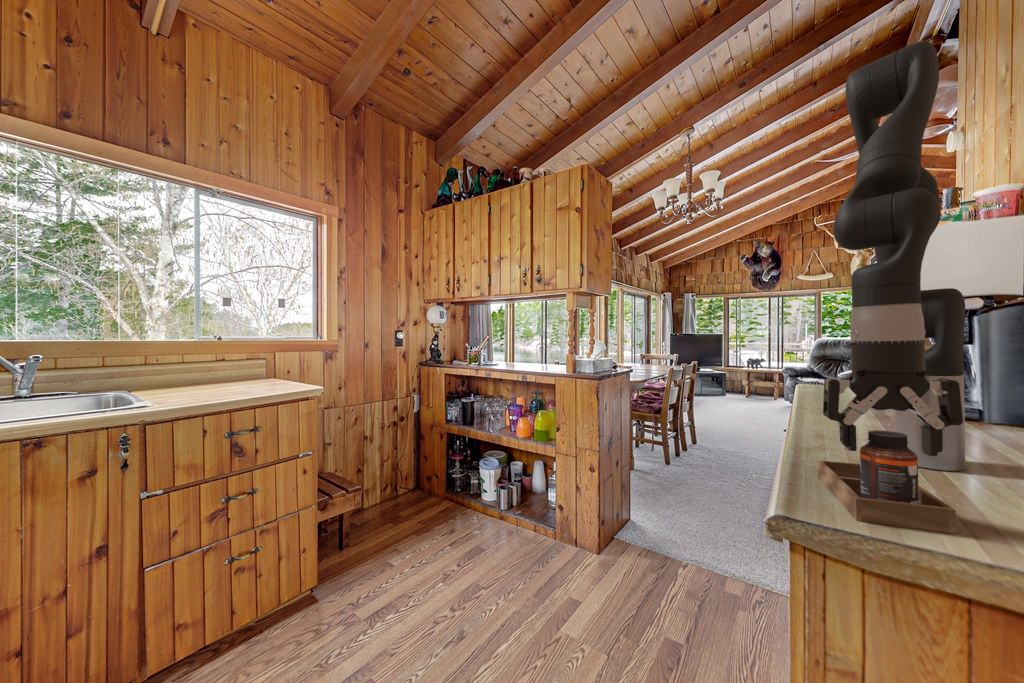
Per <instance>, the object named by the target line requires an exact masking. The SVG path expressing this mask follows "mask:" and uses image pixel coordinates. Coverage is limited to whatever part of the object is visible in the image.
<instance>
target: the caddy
mask: <svg viewBox="0 0 1024 683" xmlns="http://www.w3.org/2000/svg"><path fill="white" fill-rule="evenodd" d="M817 478H818V479H819V480H820V481H821V482H822V483H823V484H824V485H825V487H826V488H827V489H828V490H829V491H830V493H832V494H833V496H834V497H835V498H836V499H837V500H838V501H839V502H840V503H841V505H842V506H843V508H845V509H846V511H848V513H849V514H850V515H851V516H852V518H854V519H855V521H858V522H865V523H871V524H881V525H887V526H895V527H902V528H907V529H908V528H911V529H915V530H926V531H934V532H937V533H939V532H940V533H947V534H954V535H956V534H957V523H956V522H957V520H956V519H957V518H956V515H957V514H956V513H957V512H956V509H955V508H953V507H951V505H948V504H947V503H945V502H944V501H943V500H941V499H940V498H938V497H937V496H935V495H933V494H932V493H931V492H929V491H927V490H926V489H924V488H923V487H922V486H920V485H919V484H918V492H919V504H911V503H903V502H894V501H885V500H877V499H868V498H861V480H860V463H854V462H842V461H831V460H821V459H820V460H819V459H817Z"/></svg>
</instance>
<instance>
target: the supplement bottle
mask: <svg viewBox="0 0 1024 683" xmlns="http://www.w3.org/2000/svg"><path fill="white" fill-rule="evenodd" d="M867 433H868V437H867V440H868V441H867V443H865V444H863V445H862V446H860V448H859V449H860V450H859V464H860V480H861V498H868V499H877V500H885V501H894V502H903V503H911V504H919V492H918V485H919V467H918V458H917V455H916V454H915V453H914V452H913V451H912V450H909V449H908V446H907V444H908V442H907V435H905V434H903V433H899V432H895V431H892V430H891V431H890V430H880V429H877V430H876V429H875V430H874V429H873V430H869V431H868V432H867Z"/></svg>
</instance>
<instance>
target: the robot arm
mask: <svg viewBox="0 0 1024 683" xmlns="http://www.w3.org/2000/svg"><path fill="white" fill-rule="evenodd" d="M939 82H940V63H939V58H938V53H937V51H936V48H935V46H934V45H933V44H932V43H931V41H927V40H922V41H918V42H917V41H916V42H914V43H911V44H908V45H906V46H904V47H902V48H900V49H898V50H895V51H893V52H891V53H888V54H887V55H885V56H882V57H880V58H877V59H876V60H874V61H871V62H869V63H868V64H865V65H863V66H861V67H859V68H857V69H854V70H853V71H852V72H850V74H849V75H848V77H847V79H846V82H845V99H846V105H847V110H848V115H849V119H850V123H851V127H852V132H853V136H854V138H855V143H856V148H857V152H858V155H859V156H858V159H857V164H856V166H857V167H856V171H855V172H856V174H855V178H854V179H855V180H854V184H853V186H852V188H851V189H850V191H849V193H848V195H847V196H846V198H845V199H844V201H843V202H842V204H841V205H840V207H839V209H838V211H837V213H836V215H835V218H834V222H833V230H832V232H833V238H834V240H835V242H836V243H837V244H838V245H839V246H840V247H841V248H842V249H845V250H848V251H859V250H868V249H874V252H875V253H874V254H875V259H876V262H874V263H870V264H867V265H864V266H863V265H862V266H861V267H857V269H855V270H854V271H853V272H852V275H851V282H850V283H851V285H850V286H851V307H852V308H851V315H850V316H851V317H850V323H849V326H850V328H849V329H850V333H849V334H850V361H851V362H850V365H851V369H850V370H851V375H850V377H849V378H848V379H836V378H832V377H827V378H825V379H824V381H823V382H824V383H823V401H822V402H823V403H822V415H823V416H824V417H826V418H828V419H829V420H831V421H835V422H837V423H838V424H839V442H840V443H841V444H842V445H843V446H844V447H845V449H846V450H848V452H849V451H850V452H851V451H852V452H857V448H858V447H857V426H856V425H854V424H855V422H857V421H858V419H859V418H860V417H862V416H863V415H865V414H866V413H868V411H869V410H870V409H874V410H875V411H886V410H887V411H888V410H894V411H893V415H894V417H893V418H894V422H893V423H894V432H899V433H903V434H905V435H907V442H908V444H907V446H908V449H909V450H912V451H913V452H914V453H915V454H916V455H917V458H918V468H924V469H930V470H937V471H951V472H952V471H955V472H957V471H958V472H959V471H963V470H965V469H966V423H965V422H966V419H965V418H966V415H965V414H966V413H965V412H966V411H965V379H964V378H965V375H964V372H965V370H964V368H965V367H964V366H965V365H964V363H965V362H964V352H965V351H964V350H965V349H964V343H965V342H964V340H965V338H964V337H965V323H966V302H965V297H964V295H963V293H962V291H960V290H958V289H957V288H951V287H948V288H946V287H945V288H936V289H935V288H934V289H933V288H932V289H924V290H922V288H921V287H922V286H921V285H922V283H921V273H922V266H923V260H924V257H925V254H926V250H927V246H928V243H929V241H930V238H931V237H932V235H933V234H934V232H935V231H936V229H937V227H938V225H939V223H940V220H941V217H942V215H941V214H942V211H941V201H940V194H939V193H940V192H939V187H938V182H937V180H936V178H935V177H934V176H933V175H932V173H930V172H929V171H928V170H927V169H926V168H925V167H923V166H922V150H923V149H922V147H923V139H924V134H925V130H926V128H927V125H928V122H929V120H930V119H929V118H930V116H931V113H932V110H933V106H934V101H935V99H936V95H937V91H938V87H939ZM886 116H889V117H887V118H886V119H885V121H883V122H882V123H881V125H880V124H879V121H878V120H879V119H880V118H883V117H886ZM925 339H935V343H934V344H933V345H932V346H931V347H929V348H927V349H926V345H925V344H926V343H925V342H926V340H925ZM848 388H849V389H850V391H851V392H852V393H853V394H854V395H855V396H854V397H853V398H852V399H851V400H850V401H849V402H848V403H847V404H846V406H845V408H844V409H843V410H842V411H841V412H839V410H840V395H842V394H844V393H845V390H846V389H848Z"/></svg>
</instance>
